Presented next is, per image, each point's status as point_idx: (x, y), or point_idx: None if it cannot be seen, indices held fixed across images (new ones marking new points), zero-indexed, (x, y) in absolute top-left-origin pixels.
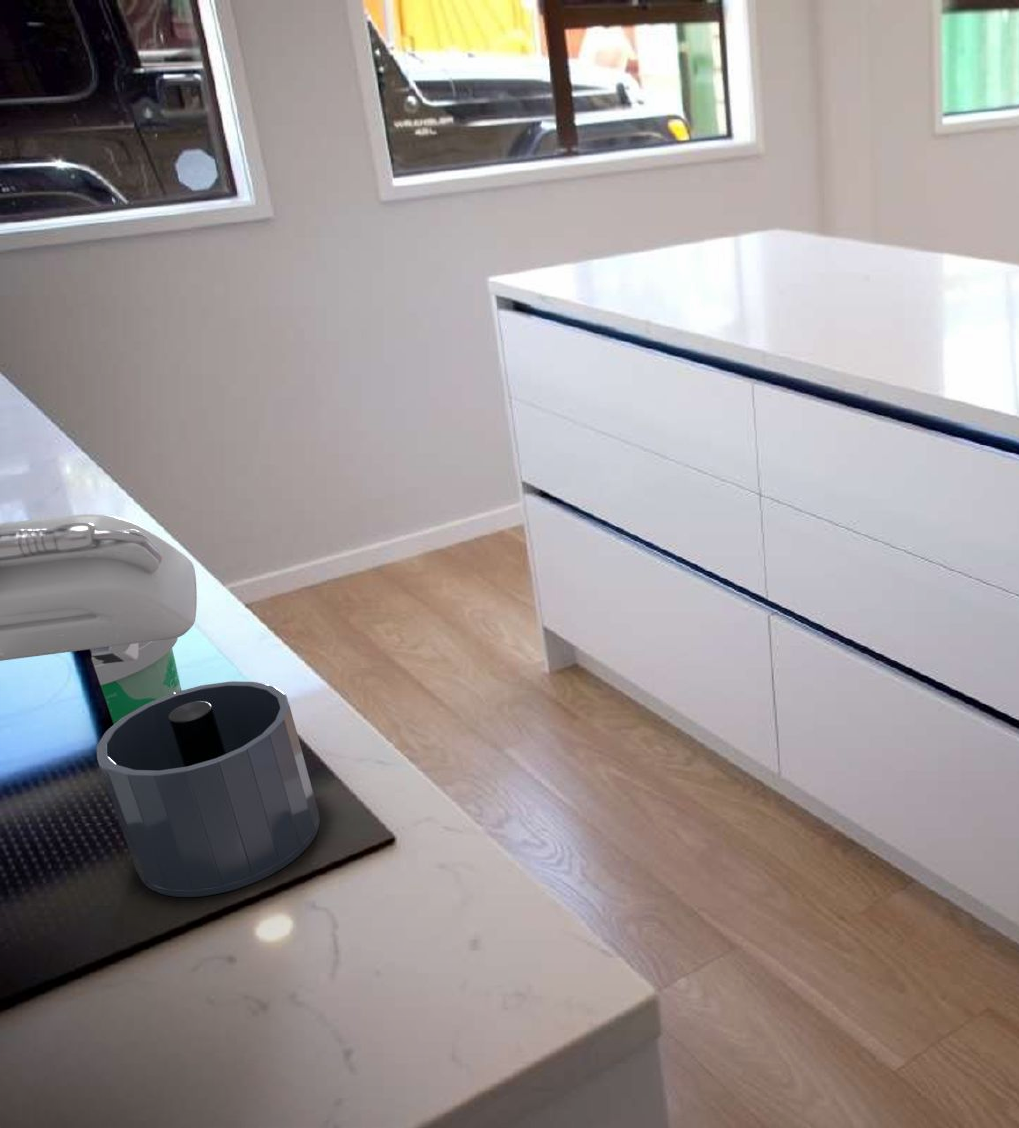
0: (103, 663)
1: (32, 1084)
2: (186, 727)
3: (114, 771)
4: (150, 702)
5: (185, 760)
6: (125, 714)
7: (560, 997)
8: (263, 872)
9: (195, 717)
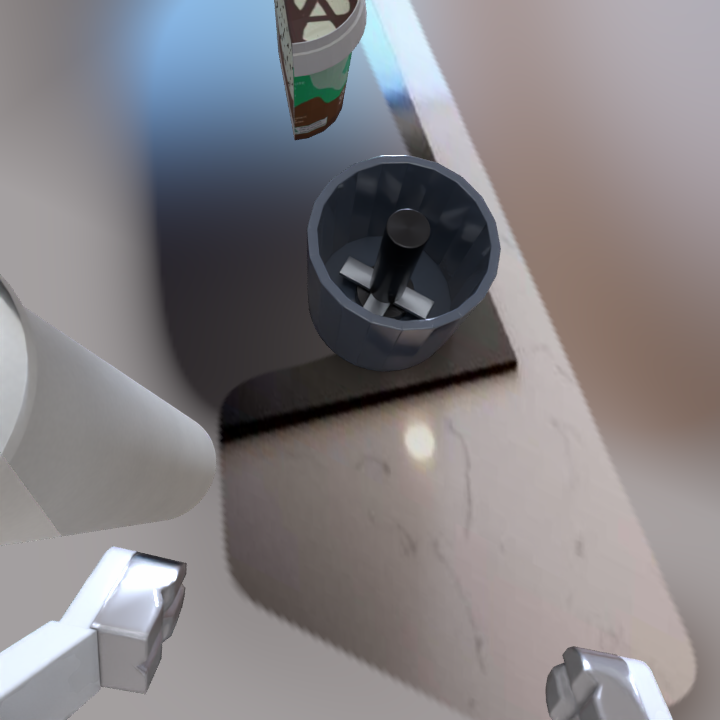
0: (547, 706)
1: (238, 558)
2: (402, 251)
3: (328, 291)
4: (356, 164)
5: (383, 264)
6: (305, 100)
7: (645, 656)
8: (412, 365)
9: (415, 245)
